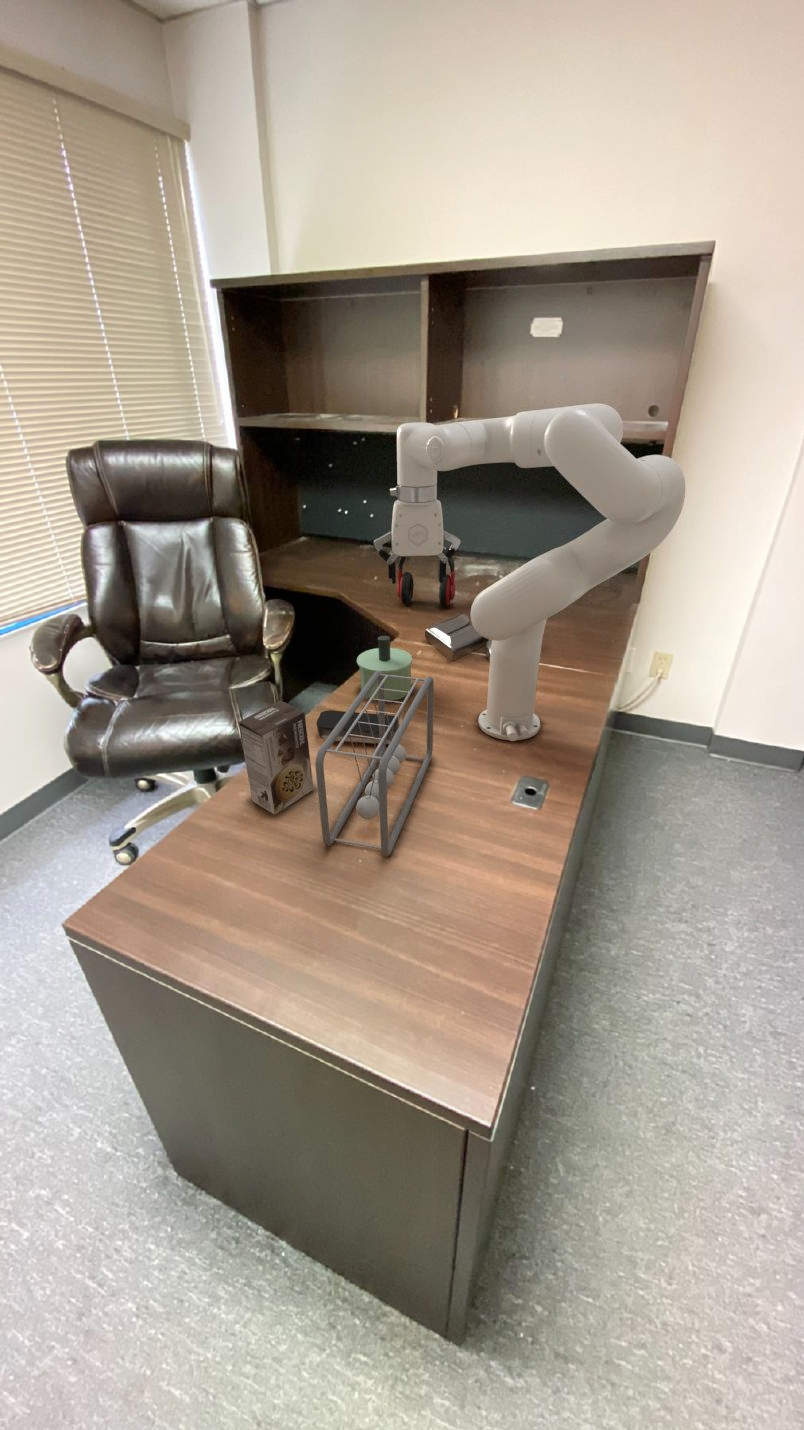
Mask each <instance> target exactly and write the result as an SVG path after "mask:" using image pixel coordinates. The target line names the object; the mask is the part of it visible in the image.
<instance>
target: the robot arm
mask: <svg viewBox="0 0 804 1430" xmlns="http://www.w3.org/2000/svg"><path fill="white" fill-rule="evenodd" d="M623 435H624V423H623V420H622V417H621V415H620V414H619V412H618V411H617V410H616V409H615V408H614V407H612V406H610V405H608V404H605V403H596V402H595V403H587V404H577V405H569V406H562V407H561V406H560V407H552V408H544V409H543V408H542V409H535V410H534V409H533V410H525V411H520V412H517V413H516V414H515V415H511V416H504V417H495V418H486V419H485V418H484V419H475V420H465V421H457V422H456V421H455V422H450V423H444V424H443V423H442V424H437V425H435V424H433V423H430V422H424V421H423V422H421V421H419V422H417V421H416V422H404V423H402V424H400V425H399V426H398V427H397V430H396V463H397V464H396V471H397V476H396V477H397V479H396V480H397V482H396V483H397V485H396V486H395V487H390V488H389V496H390V497H391V496H392V497H395V498H396V499H397V500H394V503H393V506H392V507H393V508H392V517H391V531H388V532H387V533H385V534H383V535H381V536H380V537H377V538H376V539H374V541H373V546H374V548H375V550H376V551H377V553H378V555H379V557H381V558H382V559H383V560H384V561H385V562H386V564H388V565H387V567H388V568H387V569H388V570H387V572H388V574H387V575H388V579H389V580H391V583H392V585H395V584H397V578H396V577H397V576H396V575H397V574H396V572H397V571H396V567H397V566H396V560H397V558H398V557H401V556H407V557H429V556H437V557H438V561H437V579H438V582H439V584H440V583H443V577H446V574H447V564H448V560H449V559H450V558H451V557H454V555H455V554H456V552H457V550H458V548H459V547H460V545H461V543H462V542H461V538H459V537H457V536H455V535H454V534H452V533H449V532H448V531H446V530H444V516H443V507H442V502H441V501H440V500H439V499H437V498H438V471H439V472H447V471H453V470H456V469H460V468H465V467H469V466H470V467H471V466H474V465H483V464H484V465H485V464H498V463H514V464H515V465H516V466H517V467H518V468H521V469H532V468H546V467H547V468H548V467H554V468H555V469H556V470H557V472H559V474H560V475H561V476H562V477H563V478H564V479H565V480H566V481H567V482H568V483H569V484H570V485H571V486H572V487H573V488H574V489H575V490H576V491H577V492H578V493H579V494H580V495H581V496H582V497H583V498H584V499H585V500H586V501H588V503H589V504H590V505H591V506H592V507H593V508H594V509H595V510H597V511H598V512H599V513H600V514H601V515H602V516H603V517H604V518H606V519H605V520H603V521H601V522H599V523H598V524H596V525H595V526H593V527H592V528H591V529H589V530H587V531H586V532H584V533H582V534H581V535H580V536H578V537H576V538H574V539H573V540H571V541H569V542H567V543H565V544H563V545H560V546H557V547H556V548H552V549H550V550H549V551H546V552H544V553H543V554H540V555H538V556H536V557H535V558H532V559H530V560H529V561H528V562H526V563H524V564H522V565H521V566H519V567H518V568H516V569H514V570H512V571H511V572H509V573H508V574H507V575H505V576H503V577H502V578H500V579H498V580H497V581H496V582H494V583H493V584H491V585H489V586H488V587H486V588H484V589H483V590H481V591H480V592H479V593H478V594H477V595H476V597H475V598H474V600H473V602H472V604H471V608H470V623H471V624H472V625H473V627H474V629H475V630H476V631H477V632H478V633H479V634H480V635H481V636H483V637H484V638H487V639H489V640H492V643H491V654H490V661H489V670H488V682H487V684H488V685H487V699H486V709H484V710H483V711H481V713H480V714H479V716H478V721H477V722H478V726H479V729H480V730H481V731H482V732H483V733H485V734H486V735H488V736H490V737H492V738H496V739H499V740H502V741H503V740H504V741H510V742H515V741H521V740H527V739H529V738H532V737H534V736H535V735H537V734H538V733H539V731H540V728H541V721H540V718H539V716H538V715H537V714H536V713H535V705H536V697H537V696H536V695H537V689H538V678H539V669H540V659H541V654H542V645H543V638H544V635H545V634H544V632H545V628H546V624H547V622H548V619H549V618H551V617H552V616H554V615H555V614H558V613H559V612H561V611H563V610H564V609H566V608H567V607H568V606H570V605H572V604H573V603H575V602H576V601H577V600H579V599H580V598H581V597H583V596H584V595H585V594H586V593H587V592H589V591H590V590H591V589H593V588H594V587H596V586H598V585H600V584H602V583H603V582H605V581H608V580H609V579H610V578H613V577H615V576H616V575H617V574H620V573H621V572H622V571H624V570H626V569H628V568H629V567H631V566H633V565H635V564H636V563H638V562H640V561H641V560H642V559H644V558H645V557H646V556H648V555H649V554H651V553H652V552H653V551H654V550H655V549H657V548H658V547H659V546H660V545H661V544H662V543H663V542H664V541H665V540H666V538H667V537H668V536H669V534H670V533H671V532H672V530H673V529H674V527H675V525H676V524H677V522H678V520H679V518H680V516H681V513H682V510H683V508H684V503H685V498H686V479H685V475H684V471H683V469H682V467H681V465H679V463H678V462H677V461H676V460H675V459H673V458H672V457H669V456H666V455H662V454H650V455H645V456H644V455H643V456H641V457H638V458H636V457H635V456H634V455H633V454H632V453H631V452H630V451H629V450H628V449H627V448H626V447H625V446H623V444H621V442H622V440H623ZM444 540H446V541H448V542H450V543H451V545H450V547H449V548H447V549H448V550H447V551H446V552H445V553H444V552H443V545H444ZM389 541H391V550H390V552H387V551H386V550H385V548H384V547H383V545H385V544H386V543H388V542H389Z"/></svg>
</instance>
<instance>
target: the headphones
mask: <svg viewBox="0 0 804 1430" xmlns="http://www.w3.org/2000/svg"><path fill="white" fill-rule="evenodd" d="M448 549H449V548H447V547H446V546H445V545H444V544H443V552H444V553H445V552H446V551H447V550H448ZM406 558H408V556H399V559H398V562H397V568H398V569H397V582H396V594H397V597H398V598H399V600H400V602H401V603H402V605H405V606H408V605H410V604H411V603H412V600H413V595H414V578H413V574H412V573H411V572H409V571H406V572H404V573H403V568H404V564H405V561H406ZM447 564H448V566H449V570H450V572H449V573H450V574H448V573H446V577H443V583H440V582H439V589H438V600H439V605H440V606H441V607H443V608H447V607H449V605H450V604H451V601H453V600H454V599H455V597H456V583H455V579H456V577H455V575H456V571H455V560H454V556H452V557H451V558H450V559H449V560H448V562H447Z"/></svg>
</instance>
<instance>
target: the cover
mask: <svg viewBox="0 0 804 1430" xmlns="http://www.w3.org/2000/svg"><path fill="white" fill-rule="evenodd" d="M412 663H413V656H412V655H411V653H409V652H408V651H406V650H404V649H401V648H395V647H391V637H390V636H388V635H379V636H378V637H377V647H376V648H372V649H367V650H365V651H363V652H361V653H360V654H358V656H357V658H356V664H357V666H358V667H359V669H360V668H362V669H364V670H366V671H369V672H374V673H375V672H376V671H381V672H382V673H393V672H398V671H401V670H404V669H406V668H408V667H409V666H410V665H411V666H412Z"/></svg>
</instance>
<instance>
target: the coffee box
mask: <svg viewBox="0 0 804 1430" xmlns="http://www.w3.org/2000/svg"><path fill="white" fill-rule="evenodd" d="M237 723H238V727H239V732H240V738H241V744H242V750H243V755H244V756H243V757H244V761H245V762H244V763H245V768H246V773H247V778H248V785H249V790H250V795H251V801H252V802H254V803H255V804H257V805H258V806H260V807H261V808H263V809H265V810H266V811H268V812H269V813H270V814H272V815H277V814H279V813H281V812H282V811H283V810H285V809H287V808H288V807H289V806H291V805H293V804H294V803H295V802H297V801H299V800H300V799H302V798H303V797H305V796H306V795H307V794H309V793H310V792H312V791H314V781H313V773H312V764H311V755H310V748H309V747H310V746H309V739H308V730H307V722H306V713H305V711H304V710H302V709H299V708H297V707H295V706H293V705H292V704H290V703H287V702H284V701H282V700H278V701H276V702H274V703H272V704H270V705H268V706H267V707H264V708H263V709H260V710H258V711H256V712H254V713H252V714H251V715H249V716H247V717H245V718H243V719H241V720H239V721H238V722H237Z"/></svg>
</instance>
